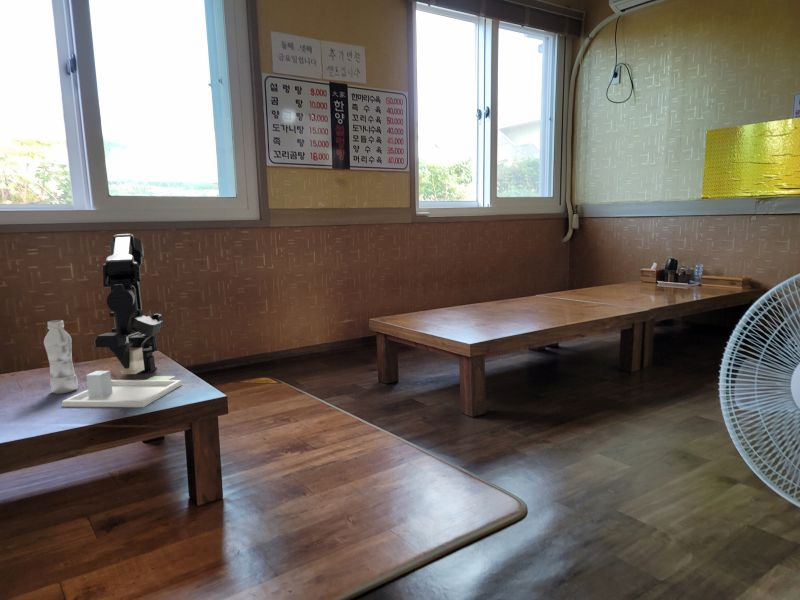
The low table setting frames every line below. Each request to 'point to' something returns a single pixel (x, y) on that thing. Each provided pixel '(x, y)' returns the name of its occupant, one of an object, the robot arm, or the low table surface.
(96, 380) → the plain block
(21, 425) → the low table surface
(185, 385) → the low table surface
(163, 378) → the mat
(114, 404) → the tray
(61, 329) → the plastic bottle
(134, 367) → the labelled block
